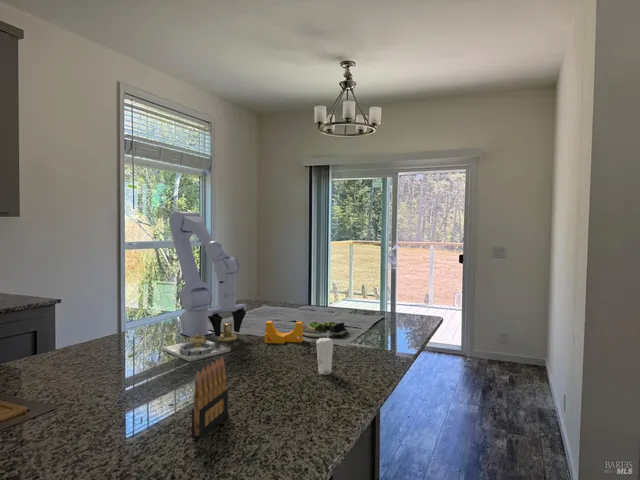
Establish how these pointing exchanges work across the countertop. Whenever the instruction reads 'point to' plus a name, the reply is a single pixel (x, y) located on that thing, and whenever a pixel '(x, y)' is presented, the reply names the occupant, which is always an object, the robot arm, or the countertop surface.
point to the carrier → (196, 348)
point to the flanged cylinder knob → (227, 334)
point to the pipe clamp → (283, 334)
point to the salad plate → (324, 329)
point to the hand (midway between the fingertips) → (227, 333)
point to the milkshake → (324, 354)
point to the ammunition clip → (209, 398)
